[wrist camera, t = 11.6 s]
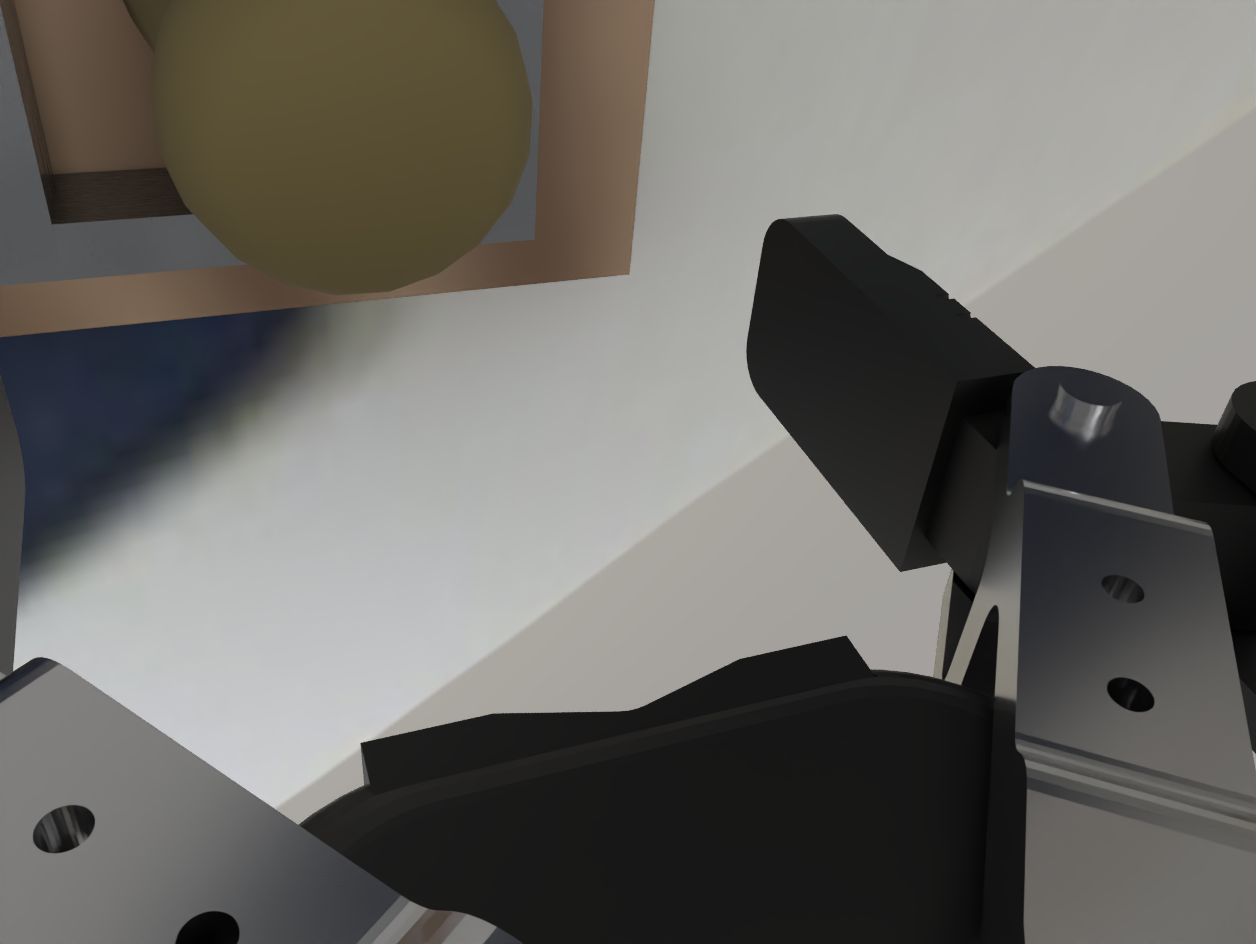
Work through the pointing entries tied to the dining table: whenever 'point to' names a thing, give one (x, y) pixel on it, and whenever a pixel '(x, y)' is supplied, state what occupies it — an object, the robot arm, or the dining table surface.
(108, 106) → the hub plate
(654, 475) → the dining table surface
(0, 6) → the socket collar
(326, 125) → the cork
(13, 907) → the robot arm
